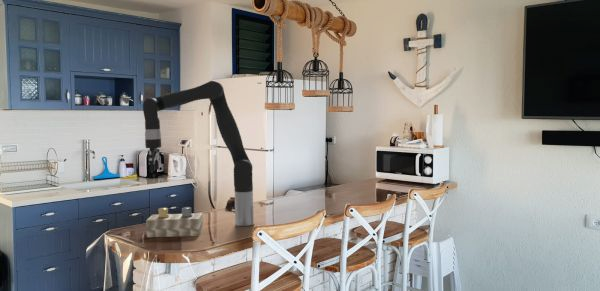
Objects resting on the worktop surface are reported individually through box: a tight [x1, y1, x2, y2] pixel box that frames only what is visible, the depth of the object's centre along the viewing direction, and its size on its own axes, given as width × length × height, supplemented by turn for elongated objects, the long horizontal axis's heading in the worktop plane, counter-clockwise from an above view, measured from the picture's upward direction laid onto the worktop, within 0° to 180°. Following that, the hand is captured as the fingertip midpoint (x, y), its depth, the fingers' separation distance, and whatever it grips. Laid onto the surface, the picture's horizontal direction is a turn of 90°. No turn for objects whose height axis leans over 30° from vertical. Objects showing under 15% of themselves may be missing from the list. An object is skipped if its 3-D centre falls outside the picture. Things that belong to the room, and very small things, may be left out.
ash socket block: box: [145, 212, 204, 238], centre depth 228 cm, size 24×12×8 cm, turn 93°
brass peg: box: [157, 207, 169, 218], centre depth 227 cm, size 4×4×7 cm
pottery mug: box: [225, 196, 235, 212], centre depth 281 cm, size 12×10×8 cm
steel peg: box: [181, 206, 192, 218], centre depth 228 cm, size 4×4×7 cm
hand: (154, 170), depth 239 cm, fingers open, 8 cm apart
